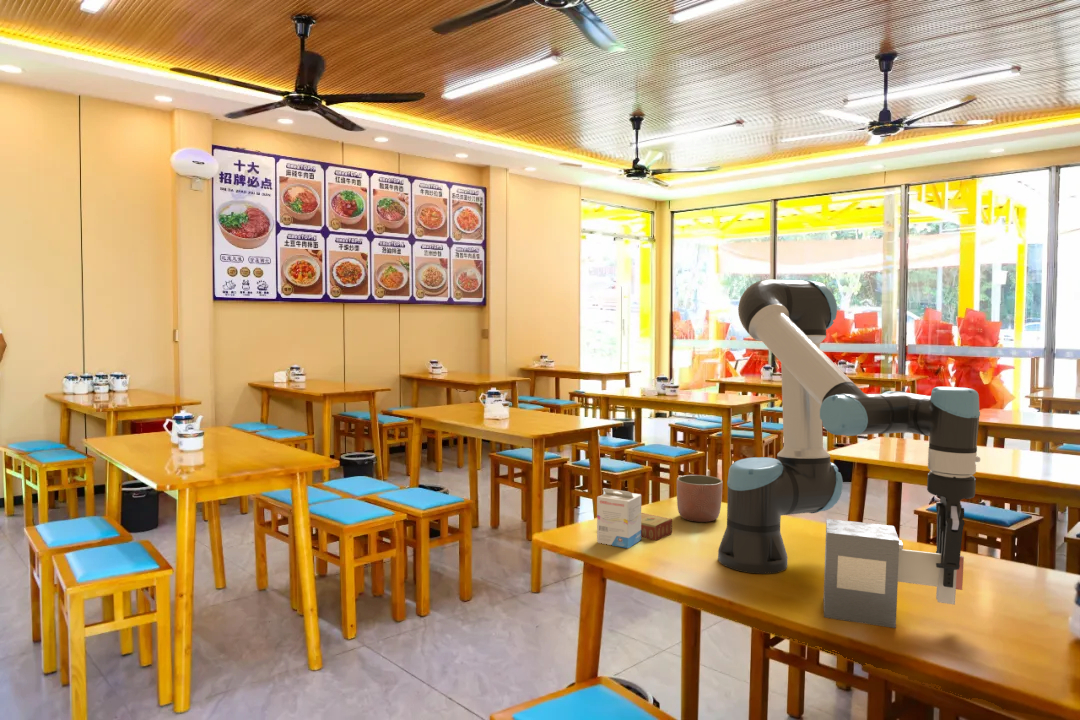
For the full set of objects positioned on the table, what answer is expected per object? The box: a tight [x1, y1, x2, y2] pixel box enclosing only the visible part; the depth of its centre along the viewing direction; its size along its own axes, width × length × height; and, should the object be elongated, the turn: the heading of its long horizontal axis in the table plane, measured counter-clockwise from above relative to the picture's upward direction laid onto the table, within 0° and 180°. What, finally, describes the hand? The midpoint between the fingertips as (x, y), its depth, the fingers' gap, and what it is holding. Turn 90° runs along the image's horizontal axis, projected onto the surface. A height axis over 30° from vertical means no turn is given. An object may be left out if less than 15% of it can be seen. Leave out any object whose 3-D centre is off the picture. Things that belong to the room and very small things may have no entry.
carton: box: [641, 512, 673, 541], centre depth 186 cm, size 8×16×4 cm, turn 49°
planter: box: [676, 474, 724, 523], centre depth 198 cm, size 12×12×11 cm
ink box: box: [596, 487, 642, 549], centre depth 176 cm, size 9×8×13 cm
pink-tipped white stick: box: [898, 548, 965, 591], centre depth 131 cm, size 18×1×6 cm, turn 69°
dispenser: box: [823, 518, 904, 629], centre depth 134 cm, size 13×10×16 cm
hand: (945, 601), depth 129 cm, fingers closed, pressing on pink-tipped white stick
